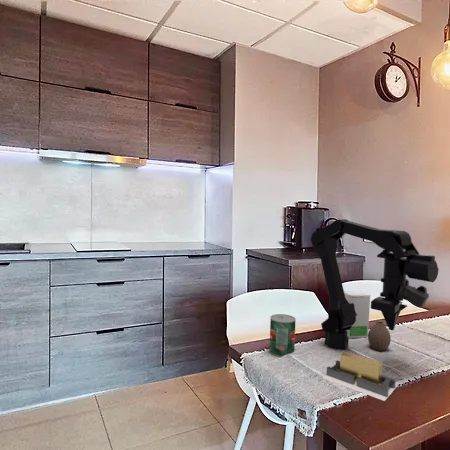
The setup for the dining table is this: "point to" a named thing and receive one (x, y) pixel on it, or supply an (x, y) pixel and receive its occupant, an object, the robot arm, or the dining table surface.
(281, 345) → the canned tomato
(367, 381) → the gray two-section tray
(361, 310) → the skincare box
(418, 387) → the dining table surface
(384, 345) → the brown egg-shaped piece
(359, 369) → the tan block
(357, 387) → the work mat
